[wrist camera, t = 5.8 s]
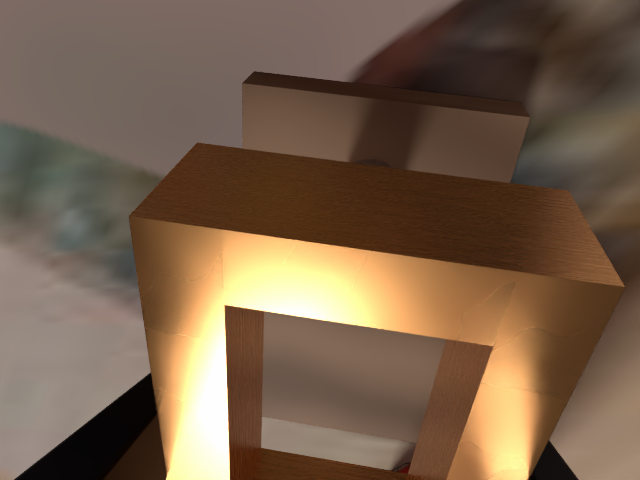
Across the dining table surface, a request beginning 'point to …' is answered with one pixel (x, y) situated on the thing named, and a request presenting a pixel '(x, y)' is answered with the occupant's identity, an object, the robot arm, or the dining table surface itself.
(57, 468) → the robot arm
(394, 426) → the board
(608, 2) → the dining table surface
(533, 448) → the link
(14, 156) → the dining table surface
